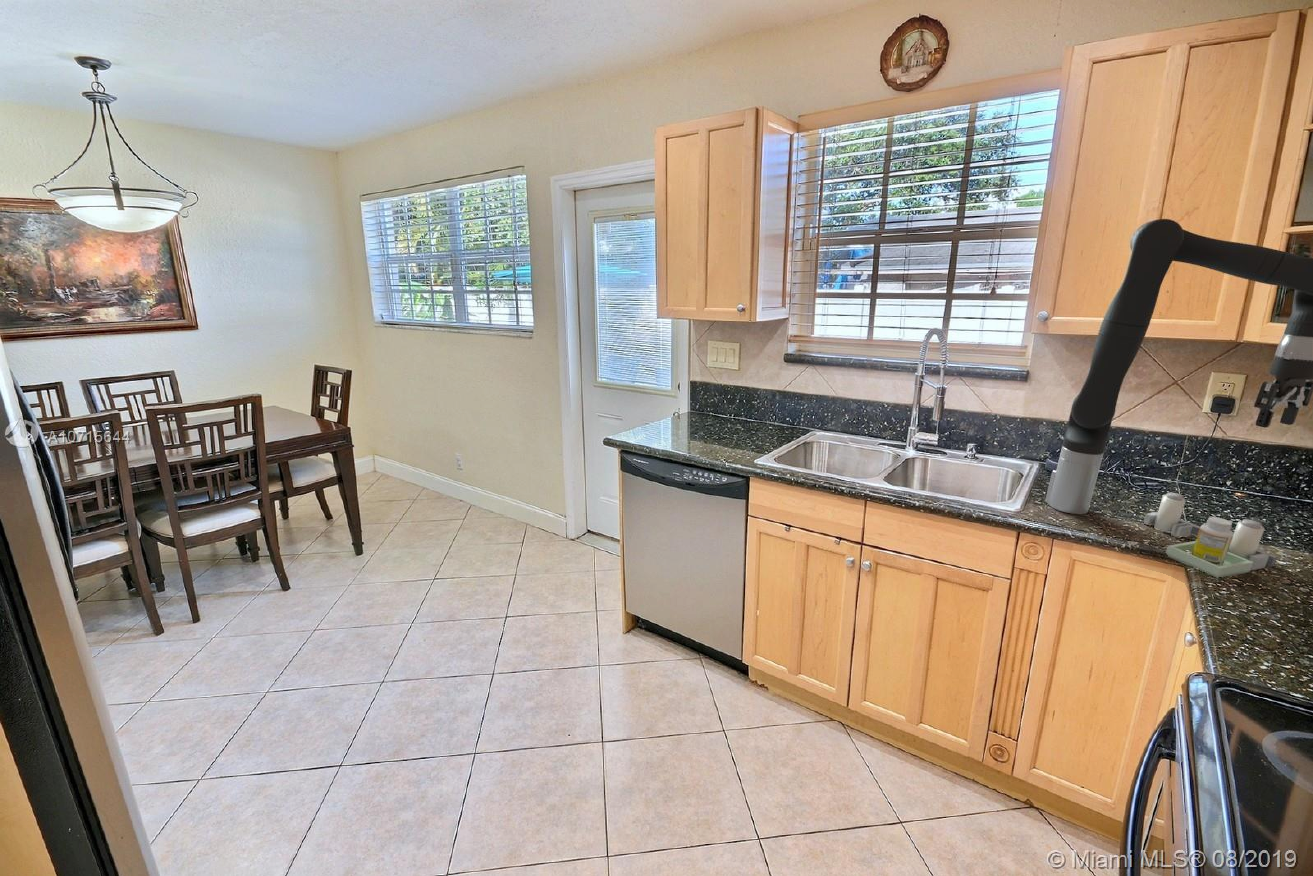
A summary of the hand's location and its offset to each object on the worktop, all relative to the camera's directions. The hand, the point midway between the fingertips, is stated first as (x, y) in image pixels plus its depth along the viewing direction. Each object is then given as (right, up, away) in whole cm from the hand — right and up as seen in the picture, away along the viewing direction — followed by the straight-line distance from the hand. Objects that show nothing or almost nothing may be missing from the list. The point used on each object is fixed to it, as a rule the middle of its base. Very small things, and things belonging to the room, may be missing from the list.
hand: (1273, 425), depth 136 cm
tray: (-17, -32, -1) cm, 36 cm away
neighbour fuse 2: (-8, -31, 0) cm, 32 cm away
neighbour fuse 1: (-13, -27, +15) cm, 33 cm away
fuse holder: (-9, -29, +8) cm, 31 cm away
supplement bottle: (-17, -31, -1) cm, 36 cm away
